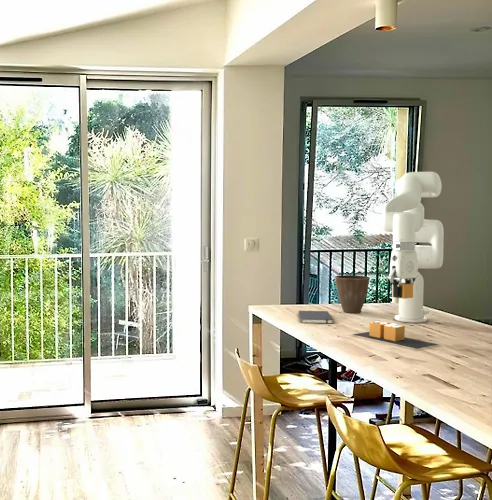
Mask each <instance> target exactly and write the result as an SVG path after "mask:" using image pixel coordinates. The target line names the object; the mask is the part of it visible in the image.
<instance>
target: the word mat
mask: <svg viewBox="0 0 492 500" xmlns="http://www.w3.org/2000/svg"><path fill="white" fill-rule="evenodd" d="M352 336H357V337H362V338H366V339H371V340H375V341H380V342H385V343H387V344H388V343H389V344H392V345H397V346H402V347H407V348H411V349H415V350H418V349H423V348H428V347H429V348H430V347H435V346H438V345H440V344H439V343H435V342H430V341H424V340H420V339H414V338H410V337H405V336H404V340H399V341H392V340H387V339H384V338H378V337H373V336H369V331H365V332H359V333H353V334H352Z"/></svg>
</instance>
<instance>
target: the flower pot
mask: <svg viewBox="0 0 492 500" xmlns="http://www.w3.org/2000/svg"><path fill="white" fill-rule="evenodd" d="M334 281H335V287H336V291H337V296H338V299H339V303H340V306H341V309H342V312H343V313H348V314H358V313H361V311H362V310H363V307H364V304H365V301H366V297H367V295H368V290H369V283H370V276H366V275H356V274H355V275H354V274H353V275H352V274H350V275H349V274H344V275H342V274H341V275H335V276H334Z"/></svg>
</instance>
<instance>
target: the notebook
mask: <svg viewBox="0 0 492 500" xmlns="http://www.w3.org/2000/svg"><path fill="white" fill-rule="evenodd" d="M298 317H299V320H300V323H302V324H333V323H334V322H333V320H334V318H332V316H331V314H330V313H329V311H328V310H298Z"/></svg>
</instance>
